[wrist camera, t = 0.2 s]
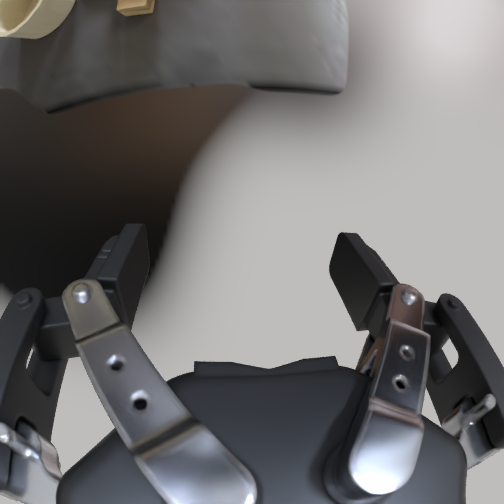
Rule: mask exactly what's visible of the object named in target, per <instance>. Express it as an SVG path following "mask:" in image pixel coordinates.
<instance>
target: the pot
mask: <svg viewBox="0 0 504 504" xmlns="http://www.w3.org/2000/svg"><path fill="white" fill-rule="evenodd" d="M74 3H75V0H0V37H16V38H28V39H38V38H42V37H44V36H46V35H48V34H49V33H51V32H52V31H54V30H55V29H56V28H57V27H58V26H59V25H60V24H61V23H62V22H63V21H64V20H65V19H66V17H67V16H68V14H69V13H70V11H71V10H72V8H73V6H74Z"/></svg>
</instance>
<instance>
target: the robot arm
mask: <svg viewBox="0 0 504 504" xmlns="http://www.w3.org/2000/svg"><path fill="white" fill-rule="evenodd" d="M148 270H149V253H148V244H147V235H146V227H145V225H144V224H126V225H125V227H124V228H123V230H122V231H121V233H120V235H119V236H113V237H112V238H110V239H109V240H108V241H107V242H105V244H104V245H103V247H102V249H101V251H100V252H99V253H98V255H97V258H96V259H95V260H94V262H93V264H92V265H91V267H90V269H89V271H88V272H87V274H86V276H85V278H84V279H80V280H77V281H75V282H73V283H71V284H70V285H68V286H67V287H66V289H65V290H64V292H63V294H62V296H60V297H55V298H49V299H43V297H42V295H41V292H40V291H39V290H38V289H36V288H26V289H23V290H21V291H19V292H18V293H16V294H15V295H14V296H13V298H12V299H11V301H10V302H9V304H8V306H7V308H6V309H5V311H4V313H3V315H2V317H1V319H0V495H2V496H4V497H7V498H10V499H12V500H15V501H20V502H22V503H24V504H466V496H465V493H466V477H467V470H468V469H470V468H472V467H473V466H475V465H477V464H479V463H481V462H482V461H484V460H486V459H487V458H489V457H491V456H493V455H494V454H496V453H497V452H499V451H500V450H502V449H504V367H503V366H502V364H501V362H500V360H499V358H498V357H497V355H496V353H495V352H494V350H493V348H492V347H491V345H490V344H489V342H488V340H487V338H486V337H485V335H484V334H483V332H482V331H481V329H480V328H479V326H478V324H477V323H476V321H475V320H474V319H473V317H472V316H471V314H470V313H469V311H468V310H467V308H466V307H465V306H464V304H463V303H462V302H461V301H460V300H459V299H458V298H456V297H455V296H453V295H451V294H442V295H441V296H440V297H439V299H438V301H437V303H433V302H428V301H425V300H424V298H423V295H422V294H421V293H420V292H419V291H418V290H417V289H415V288H414V287H412V286H410V285H407V284H400V283H399V282H398V280H397V279H396V278H395V276H394V275H393V274H392V272H391V271H390V270H389V268H388V267H387V266H386V264H385V263H384V262H383V261H382V260H381V258H380V256H379V255H378V254H377V253H376V251H374V250H373V249H372V248H370V247H369V246H368V245H366V244H365V242H364V241H363V240H362V239H361V237H360V236H359V235H358V234H357V233H343V232H341V233H340V234H339V235H338V237H337V241H336V244H335V247H334V251H333V254H332V257H331V261H330V265H329V272H330V276H331V278H332V280H333V282H334V284H335V286H336V288H337V290H338V292H339V294H340V296H341V298H342V300H343V302H344V304H345V307H346V309H347V311H348V313H349V315H350V317H351V319H352V321H353V323H354V325H355V328H356V330H357V331H363V330H369V332H370V333H369V335H368V337H367V338H366V341H365V344H364V347H363V350H362V353H361V356H360V358H359V361H358V364H357V366H356V369H355V370H354V369H351V368H348V367H343V366H339V365H338V362H337V360H336V357H335V356H329V357H320V358H309V359H302V360H299V361H296V362H292V363H289V364H286V365H282V366H279V367H276V368H272V369H266V368H260V367H255V366H249V365H244V364H239V363H234V362H198V361H195V362H194V372H190V373H186V374H182V375H179V376H177V377H174V378H172V379H170V380H168V381H167V382H165V380H164V379H163V378H162V376H161V375H160V374H159V372H158V371H157V370H156V368H155V367H154V365H153V364H152V362H151V361H150V360H149V358H148V357H147V355H146V354H145V352H144V351H143V349H142V348H141V346H140V345H139V343H138V342H137V340H136V339H135V337H134V335H133V334H132V332H131V329H132V325H133V321H134V318H135V314H136V311H137V307H138V304H139V300H140V297H141V293H142V290H143V286H144V283H145V280H146V277H147V274H148ZM449 338H450V339H451V341H452V343H453V344H454V346H455V348H456V350H457V352H458V356H459V358H458V362H457V364H456V365H455V367H454V368H453V369H452V368H451V365H450V363H449V362H448V360H447V358H446V356H445V354H444V352H443V350H442V347H443V346H444V344H445V343H446V342H447V340H448V339H449ZM31 348H32V349H33V353H32V356H31V359H30V361H29V364H28V367H27V369H26V363H27V359H28V356H29V354H30V351H31ZM72 357H81V360H82V362H83V365H84V367H85V369H86V372H87V374H88V376H89V378H90V380H91V382H92V385H93V387H94V389H95V391H96V393H97V395H98V397H99V399H100V401H101V403H102V405H103V407H104V409H105V410H106V412H107V414H108V416H109V418H110V420H111V421H112V423H113V425H114V426H115V428H114V429H113V430H112V431H111V432H110V433H109V434H108V435H107V436H106V437H105V438H103V439H102V440H101V441H100V442H99V443H98V444H97V445H96V446H95V447H94V448H92V449H91V450H90V451H89V452H88V453H87V454H86V455H85V456H84V457H83V458H82V459H80V460H79V461H78V462H77V463H76V464H75V465H73V466H72V467H71V468H70V469H69V470H68V471H67V472H66V473H65V474H64V475H62V473H61V471H60V467H61V466H60V462H59V457H58V453H57V451H56V448H55V447H54V445H53V444H52V443H51V434H52V428H53V422H54V417H55V412H56V407H57V402H58V397H59V393H60V389H61V384H62V380H63V376H64V373H65V369H66V365H67V362H68V358H72ZM426 388H427V390H428V393H429V395H430V398H431V400H432V403H433V405H434V407H435V410H436V413H437V415H438V418H439V421H440V424H441V426H442V428H441V427H439V426H438V425H436V424H435V423H433V422H432V421H430V420H429V419H428V418H426V417H425V416H423V415H422V414H421V412H422V407H423V401H424V395H425V389H426Z"/></svg>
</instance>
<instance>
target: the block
mask: <svg viewBox="0 0 504 504" xmlns="http://www.w3.org/2000/svg"><path fill="white" fill-rule="evenodd" d="M154 4H155V0H118V4H117V9H116V10H117V11H118V12H120V13H121V14H123V15H124V16H132V15H139V14H147V13H153V9H154Z"/></svg>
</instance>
